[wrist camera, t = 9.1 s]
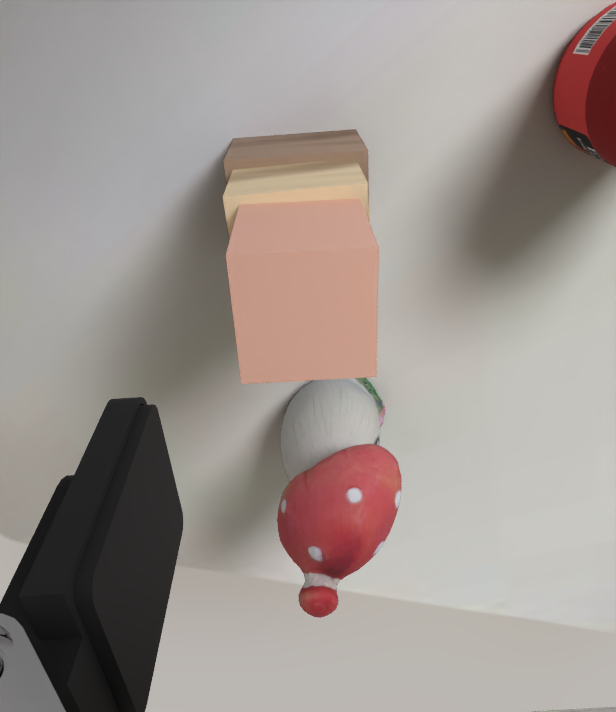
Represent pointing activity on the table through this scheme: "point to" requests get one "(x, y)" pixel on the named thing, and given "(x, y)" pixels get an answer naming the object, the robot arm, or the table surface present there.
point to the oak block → (295, 185)
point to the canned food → (589, 88)
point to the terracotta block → (304, 291)
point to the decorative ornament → (335, 485)
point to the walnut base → (295, 150)
